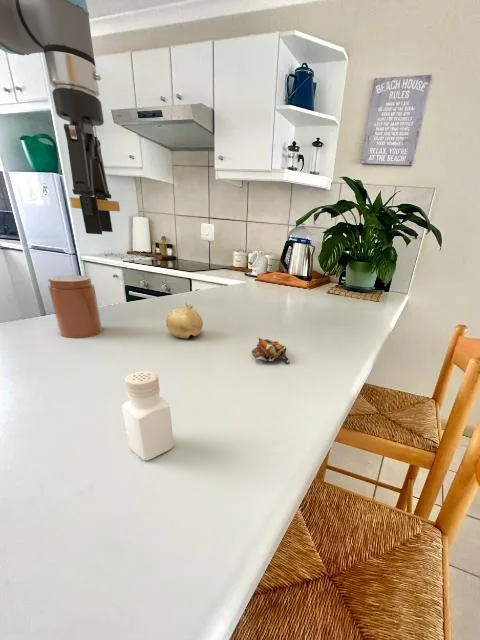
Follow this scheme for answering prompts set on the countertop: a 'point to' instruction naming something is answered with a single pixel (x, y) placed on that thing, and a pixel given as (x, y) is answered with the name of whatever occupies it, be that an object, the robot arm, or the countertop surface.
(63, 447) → the countertop surface
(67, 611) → the countertop surface
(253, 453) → the countertop surface
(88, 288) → the jar
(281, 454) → the countertop surface
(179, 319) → the onion
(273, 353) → the brown lumpy piece
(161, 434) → the salt shaker
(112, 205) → the lid
